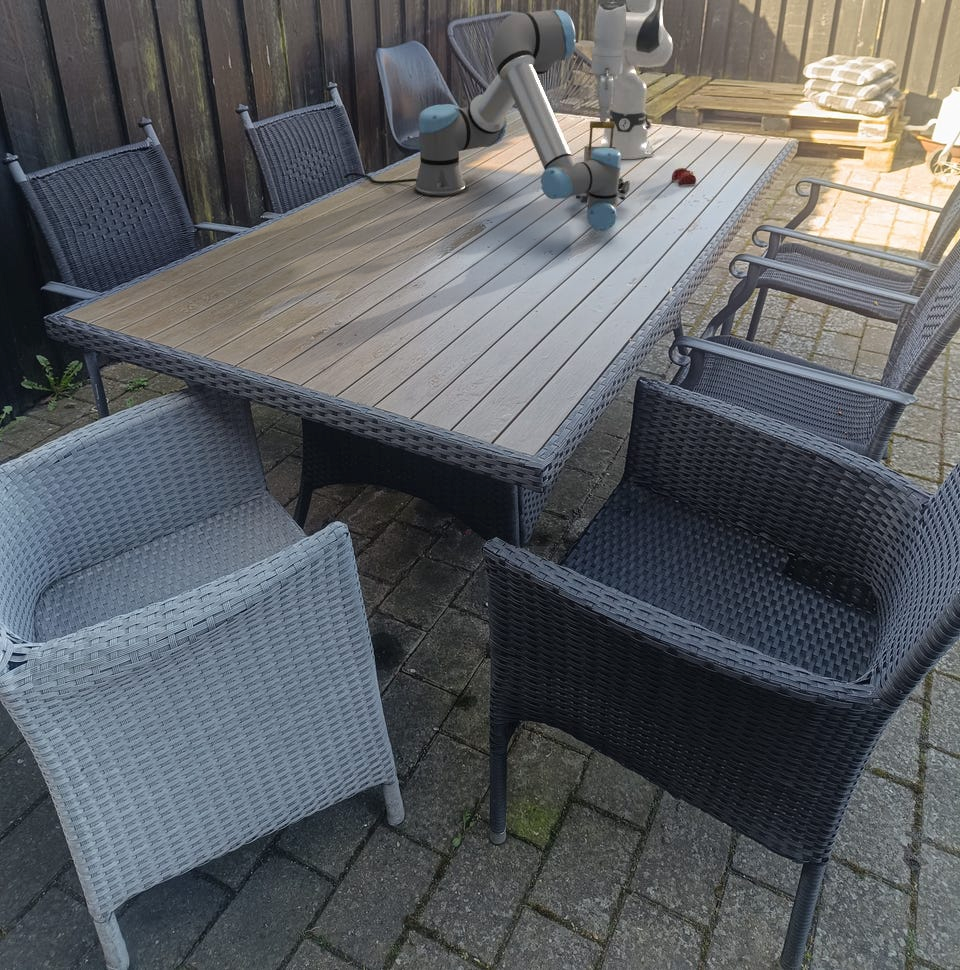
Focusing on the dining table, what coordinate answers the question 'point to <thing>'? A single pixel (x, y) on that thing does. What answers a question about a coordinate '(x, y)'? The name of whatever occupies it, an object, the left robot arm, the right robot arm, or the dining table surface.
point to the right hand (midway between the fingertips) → (602, 117)
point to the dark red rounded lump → (684, 176)
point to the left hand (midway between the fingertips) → (599, 177)
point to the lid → (589, 148)
